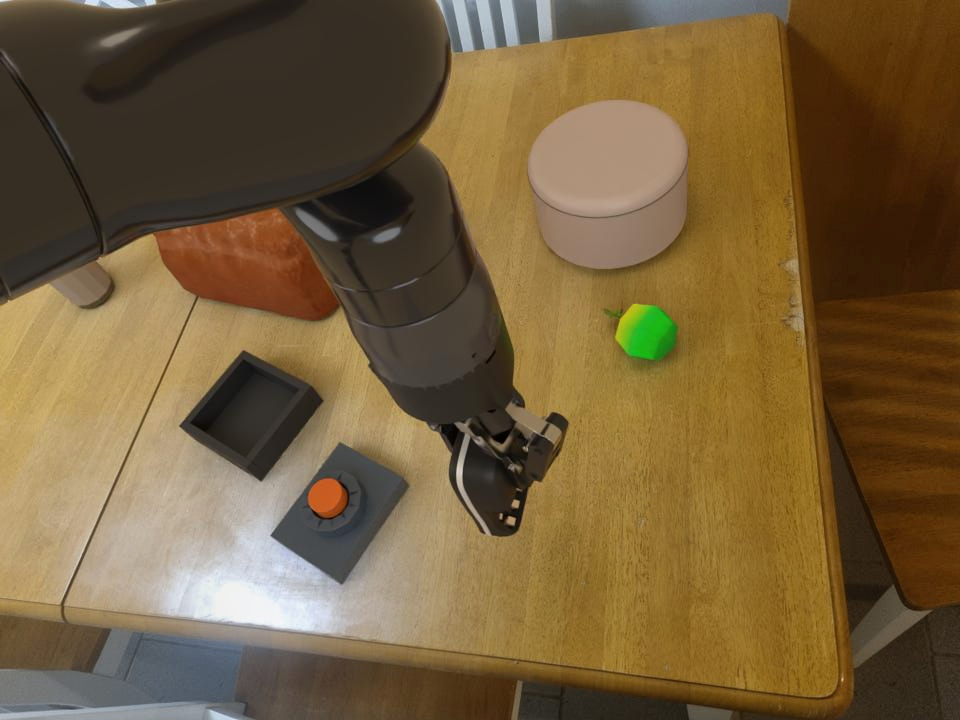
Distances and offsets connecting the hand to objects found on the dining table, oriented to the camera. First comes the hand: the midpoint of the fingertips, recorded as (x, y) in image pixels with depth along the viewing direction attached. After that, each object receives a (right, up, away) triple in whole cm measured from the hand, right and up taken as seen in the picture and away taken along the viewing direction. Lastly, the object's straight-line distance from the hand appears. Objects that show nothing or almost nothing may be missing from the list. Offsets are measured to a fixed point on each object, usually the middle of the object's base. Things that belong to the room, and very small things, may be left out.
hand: (494, 460), depth 52 cm
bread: (-28, +20, +48) cm, 59 cm away
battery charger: (+2, -4, +6) cm, 8 cm away
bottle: (-56, +17, +53) cm, 79 cm away
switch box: (-15, -9, +25) cm, 31 cm away
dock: (-27, 0, +34) cm, 44 cm away
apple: (+16, +9, +28) cm, 34 cm away
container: (+15, +24, +39) cm, 48 cm away
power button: (-16, -7, +22) cm, 28 cm away
